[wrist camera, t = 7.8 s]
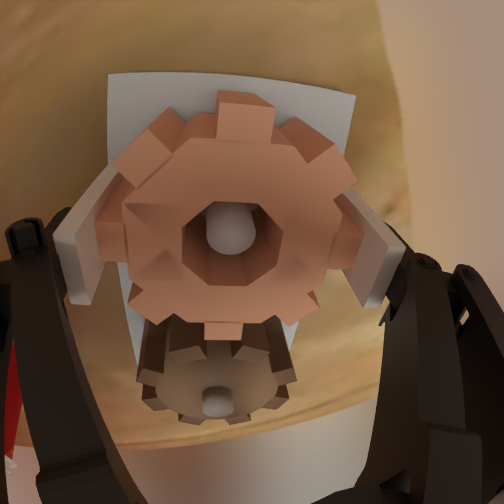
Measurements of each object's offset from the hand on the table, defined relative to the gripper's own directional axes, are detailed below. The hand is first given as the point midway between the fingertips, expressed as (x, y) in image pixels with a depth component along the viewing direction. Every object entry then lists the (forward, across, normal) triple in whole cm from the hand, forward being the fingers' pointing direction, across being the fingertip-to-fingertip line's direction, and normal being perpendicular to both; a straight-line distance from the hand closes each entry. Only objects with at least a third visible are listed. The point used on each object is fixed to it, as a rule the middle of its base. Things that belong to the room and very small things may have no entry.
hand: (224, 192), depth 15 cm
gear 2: (+1, 0, -11) cm, 11 cm away
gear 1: (0, 0, 0) cm, 0 cm away
